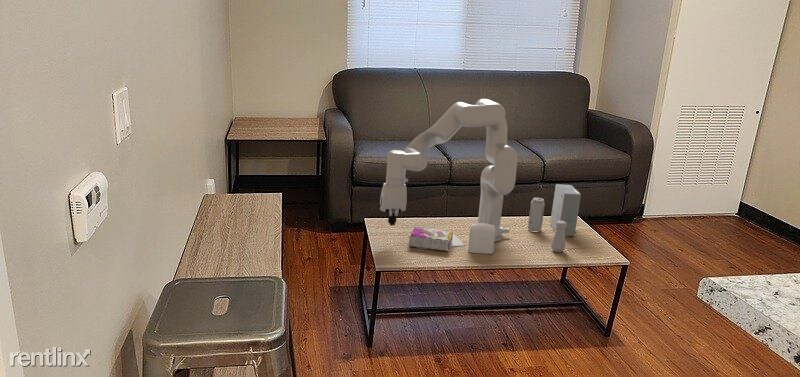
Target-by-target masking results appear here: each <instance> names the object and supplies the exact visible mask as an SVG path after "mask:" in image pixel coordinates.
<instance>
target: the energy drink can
mask: <svg viewBox="0 0 800 377" xmlns="http://www.w3.org/2000/svg"><path fill="white" fill-rule="evenodd" d="M545 204H546V203H545V199H544V198H542V197H537V196H536V197H533V198H532V200H531V201H530V206H529V207H530V209H529V216H528V223H527V229H528V231H529V230H531V231H540V232H541V230H542V227H543V221H544V220H543V219H544V212H545ZM531 231H530V232H531Z"/></svg>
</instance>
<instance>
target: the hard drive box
mask: <svg viewBox="0 0 800 377" xmlns="http://www.w3.org/2000/svg"><path fill="white" fill-rule="evenodd" d="M554 187H555V188H554V194H553V195H554V196H553V202H552V208H551V214H550V215H551V216H550V221H549V222H550V223H551V225H552V226H553V228H554V229H553V228H552V229H553V231H554V230H555V231H556V229H557V227H556V222H557V221H565V222H566V223H567V227H566V228H565V237H569V236H574V237H575V234H576V228H577V222H578V216H579V210H580V203H581V199H582V198H581V197H582V194H581V193H580V192H579V191H578V190H577V189H576V188H575V187H574V186H573V185H572V184H560V183H556V184H555V186H554ZM551 225H550V226H551ZM552 226H551V227H552ZM555 231H554V232H555Z"/></svg>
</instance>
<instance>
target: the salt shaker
mask: <svg viewBox="0 0 800 377" xmlns="http://www.w3.org/2000/svg"><path fill="white" fill-rule="evenodd" d="M556 227H557V229H556V232H555V231H554V235H553V238H552V240H551V242H550V247H551V250H552V252H554V251H555V252H554V253H556V252H561V253H563V252H564V251H565V249H566V236H565V228H566V227H567V223H566V222H565V221H557V222H556ZM562 251H563V252H562Z"/></svg>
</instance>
